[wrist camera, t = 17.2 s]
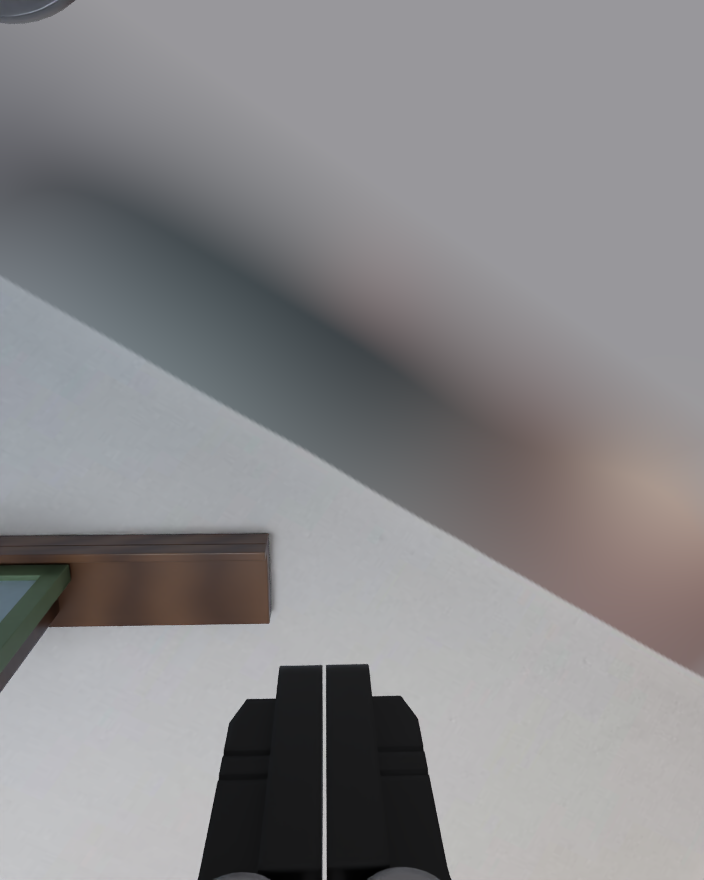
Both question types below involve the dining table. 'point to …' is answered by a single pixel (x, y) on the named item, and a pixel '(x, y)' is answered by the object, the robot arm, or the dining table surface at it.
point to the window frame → (147, 581)
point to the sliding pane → (26, 602)
